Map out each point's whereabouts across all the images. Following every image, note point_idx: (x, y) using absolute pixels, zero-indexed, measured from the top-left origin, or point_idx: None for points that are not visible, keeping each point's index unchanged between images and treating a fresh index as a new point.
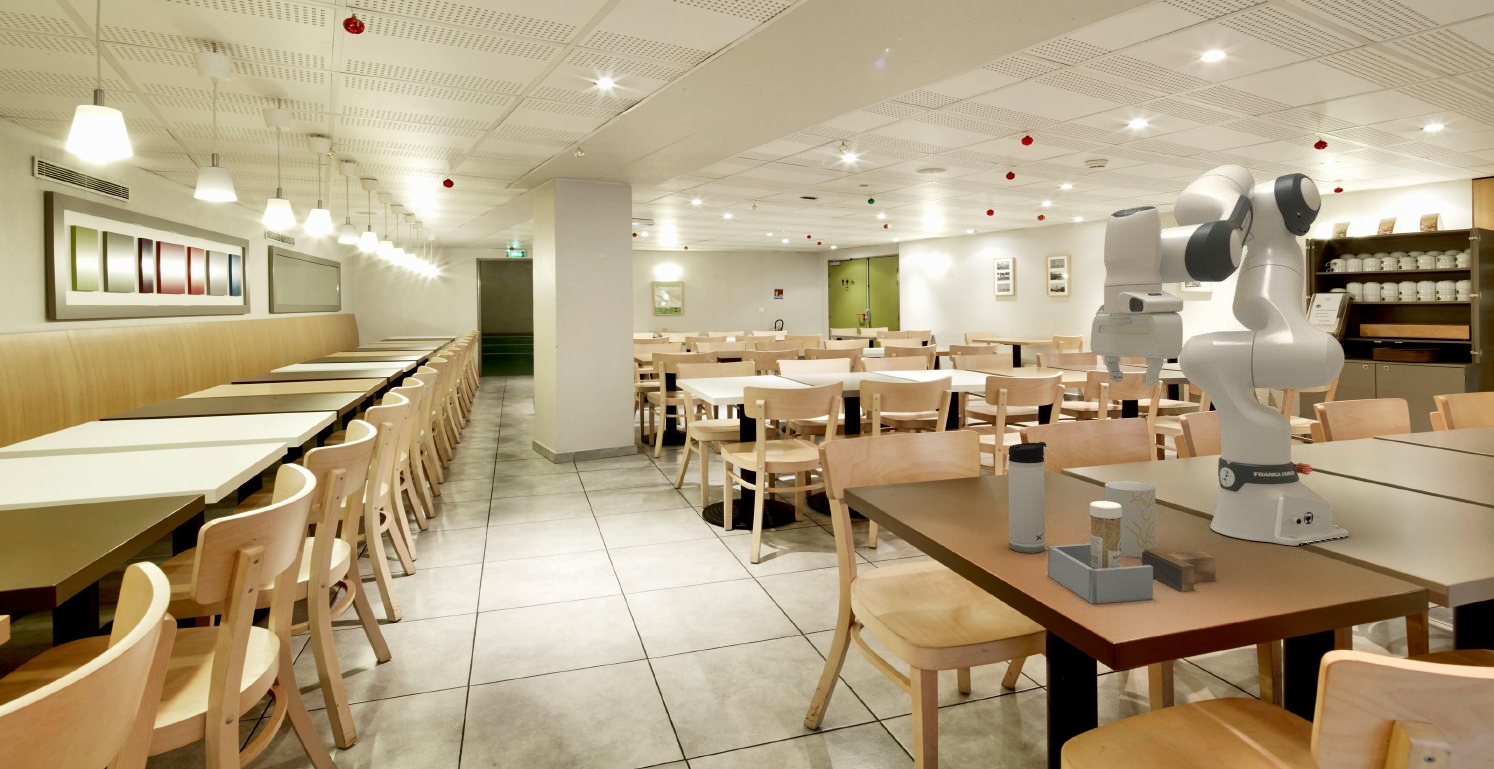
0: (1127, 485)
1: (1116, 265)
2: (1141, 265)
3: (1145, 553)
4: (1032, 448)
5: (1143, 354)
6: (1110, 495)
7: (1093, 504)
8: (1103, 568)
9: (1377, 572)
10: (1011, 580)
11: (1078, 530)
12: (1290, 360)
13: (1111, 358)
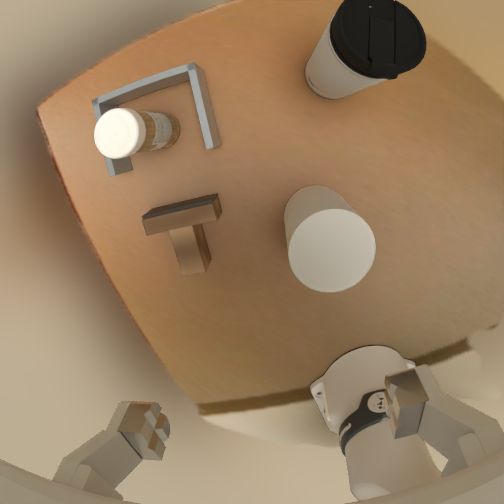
0: (334, 248)
1: None
2: None
3: (205, 201)
4: (336, 25)
5: (48, 493)
6: (319, 206)
7: (110, 111)
8: (100, 115)
9: (228, 400)
10: (185, 25)
11: (414, 186)
12: None
13: (459, 465)
